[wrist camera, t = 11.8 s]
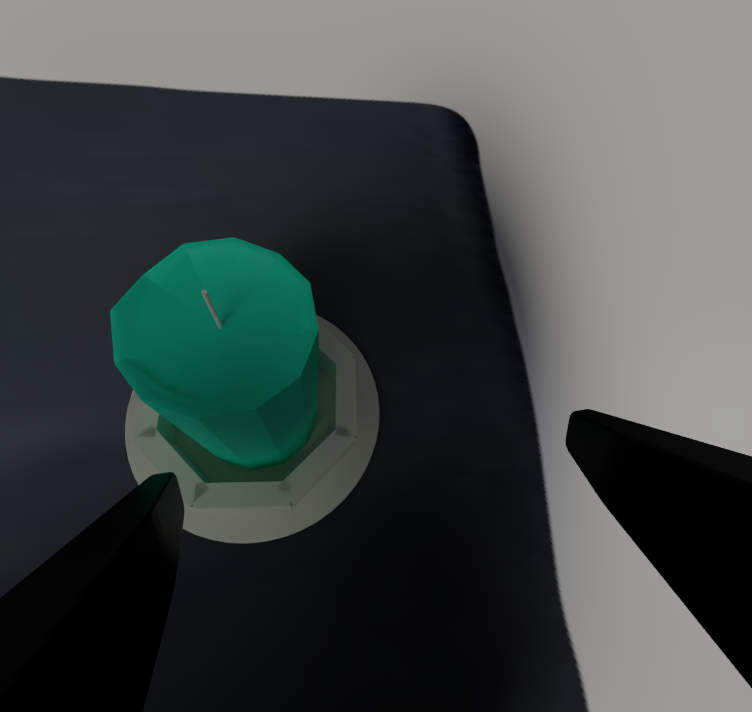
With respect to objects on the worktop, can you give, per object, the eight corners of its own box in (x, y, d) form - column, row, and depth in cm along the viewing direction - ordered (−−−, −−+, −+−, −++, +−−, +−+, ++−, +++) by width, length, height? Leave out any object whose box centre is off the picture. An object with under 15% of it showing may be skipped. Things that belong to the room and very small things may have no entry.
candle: (290, 344, 23) (268, 180, 12) (336, 437, 22) (357, 343, 11) (184, 387, 22) (50, 240, 11) (225, 492, 20) (115, 446, 9)
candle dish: (381, 537, 21) (392, 538, 18) (108, 548, 19) (66, 551, 16) (373, 314, 26) (381, 284, 23) (156, 307, 24) (132, 273, 21)
